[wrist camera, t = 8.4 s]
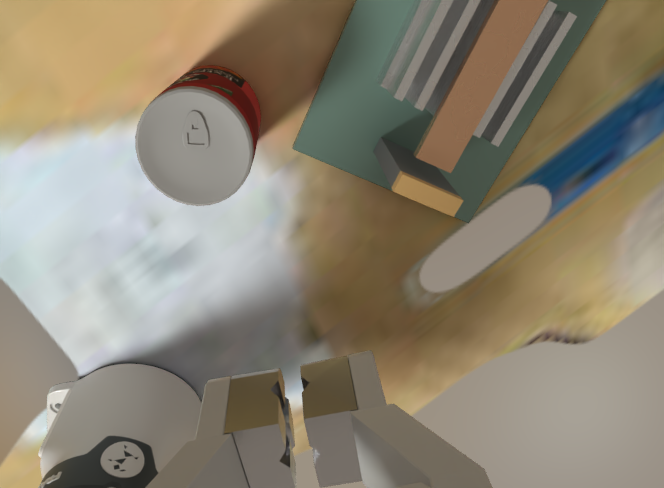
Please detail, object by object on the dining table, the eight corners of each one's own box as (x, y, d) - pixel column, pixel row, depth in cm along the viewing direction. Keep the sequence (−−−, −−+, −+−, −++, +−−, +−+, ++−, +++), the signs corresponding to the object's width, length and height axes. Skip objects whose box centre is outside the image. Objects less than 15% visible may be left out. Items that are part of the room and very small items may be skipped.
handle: (444, 167, 39) (450, 173, 38) (410, 151, 39) (415, 157, 37) (572, -64, 33) (585, -66, 32) (535, -87, 33) (547, -91, 31)
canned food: (246, 53, 41) (233, 75, 32) (272, 148, 45) (267, 193, 35) (155, 75, 42) (113, 103, 32) (188, 167, 45) (159, 217, 35)
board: (465, 218, 49) (507, 275, 40) (292, 145, 45) (293, 189, 35) (623, -39, 40) (727, -47, 31) (426, -163, 36) (475, -217, 26)
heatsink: (477, 129, 44) (503, 149, 39) (375, 80, 42) (388, 94, 37) (544, 14, 41) (582, 19, 35) (436, -47, 38) (459, -52, 33)
